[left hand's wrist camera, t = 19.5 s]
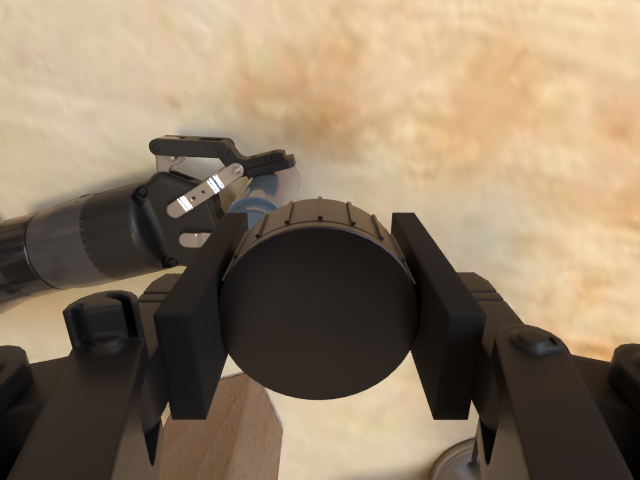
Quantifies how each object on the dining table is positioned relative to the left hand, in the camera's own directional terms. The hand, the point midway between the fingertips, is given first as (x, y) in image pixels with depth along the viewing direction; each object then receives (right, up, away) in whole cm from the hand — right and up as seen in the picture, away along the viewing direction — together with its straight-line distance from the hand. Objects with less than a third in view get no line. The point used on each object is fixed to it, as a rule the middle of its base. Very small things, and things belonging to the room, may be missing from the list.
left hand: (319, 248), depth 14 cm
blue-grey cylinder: (-4, +6, +24) cm, 26 cm away
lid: (0, -2, -4) cm, 4 cm away
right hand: (-2, +4, +18) cm, 19 cm away
